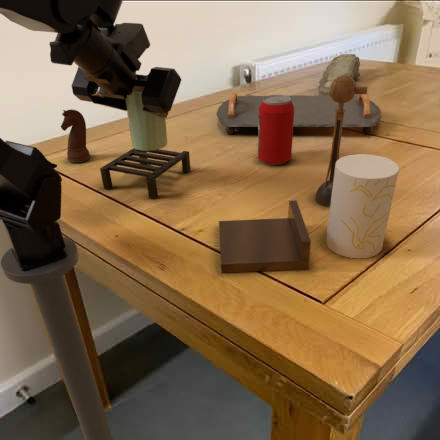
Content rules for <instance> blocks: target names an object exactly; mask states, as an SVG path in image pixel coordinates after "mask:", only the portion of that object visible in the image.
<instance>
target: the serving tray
mask: <svg viewBox="0 0 440 440" xmlns="http://www.w3.org/2000/svg"><path fill="white" fill-rule="evenodd" d="M265 96H266V95H238V92H231V93H230V95H229V99H227V100H225V101H224V102H223V103H222V104H221V105H219V107H218V108H217V111H216V117H217V119H218V121H219V122H220V123H221V124H222V125H223V126H224V127H225V133H226V134H227V135H228V136H232V135H234V133H235V131H236V128H258V121H259V106H260V104H261V103H262V101H263V98H264V97H265ZM288 96H289V97H290V98H291V101H292V103H293V106H294V124H293V128H334V126H335V117H336V111H335V110H336V109H338V102H335V101H333V99H332V98H331V96H330V95H320V94H318V95H304V94H302V95H301V94H300V95H298V94H297V95H294V94H293V95H288ZM343 109H345V110H346V111H345V112H344V118H343V126H342V128H361V129H362V130H361V131H362V134H363V135H364V136H370V134H371V133H372V131H373V127H375V126H377V125H378V124H379V122H380V121H381V119H382V111H381V109H380V107H379V106H378V105H377V104H375V102H374V101H372V100H371V98H370V95H369V93H368V92H367V94H355V95H354V97H353V98H352V99H351V100H350V101H349V102H346V103H344V107H343Z"/></svg>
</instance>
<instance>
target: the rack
mask: <svg viewBox="0 0 440 440" xmlns="http://www.w3.org/2000/svg"><path fill="white" fill-rule="evenodd" d="M179 162H181V171H182V173H183V174H189V173H190V172H191V158H190V151H187V150H183V151H181V152H179V151H172V150H166V149H162V148H161V149H157V150H151V151H142V150H137V149H134V148H133V147H132V148H131V149H130V150H128V151H126V152H125V153H123V154H122V155H120V156H118V157H116V158H115V159H113V160H111V161H110V162H108V163H107V164H105V165H103V166H101V167H100V168H99V171H100V175H101V181H102V185H103V189H104V190H111V189H113V187H114V185H113V182H112V181H113V180H112V177H111V172H112V171H113V172H116V173H123V174H128V175H132V176H138V177H144V178H145V179H146V186H147V187H146V188H147V193H148V198H149V199H152V200H156V199H157V198H158V197H159V194H158V187H157V179H158V178H159V177H160V176H162V175H163V174H164V173H166V172H167V171H169V170H170V169H171V168H173V167H175V166H176V165H177V164H179Z"/></svg>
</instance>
